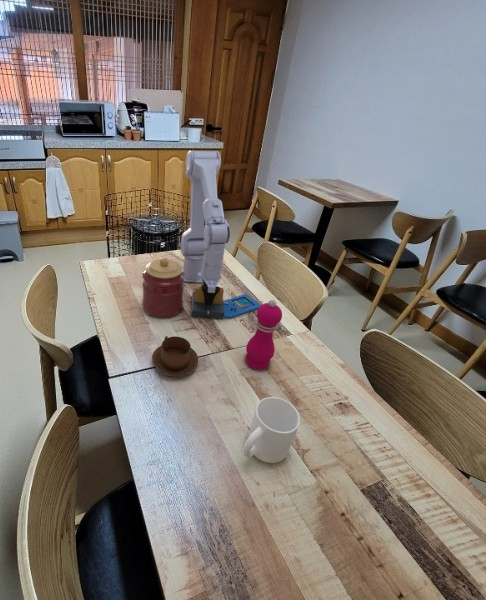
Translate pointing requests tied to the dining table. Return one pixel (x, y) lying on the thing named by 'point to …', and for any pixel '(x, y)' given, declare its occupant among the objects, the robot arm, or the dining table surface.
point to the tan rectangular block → (200, 295)
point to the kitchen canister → (163, 288)
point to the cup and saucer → (175, 357)
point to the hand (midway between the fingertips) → (208, 299)
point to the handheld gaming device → (239, 306)
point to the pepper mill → (263, 336)
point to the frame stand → (207, 309)
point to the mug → (272, 430)
